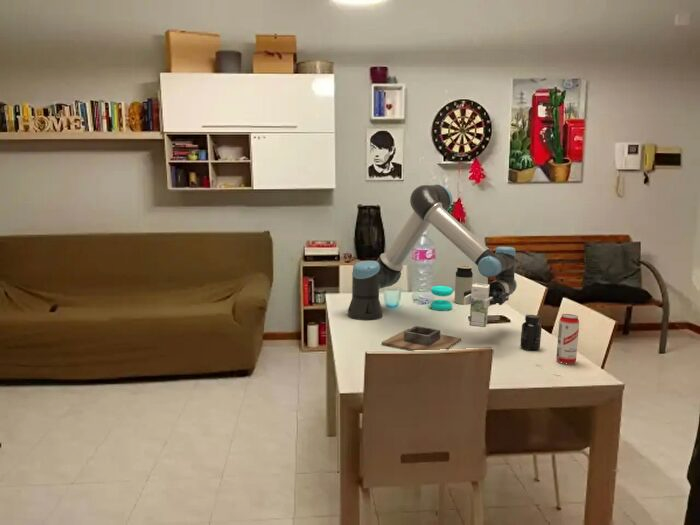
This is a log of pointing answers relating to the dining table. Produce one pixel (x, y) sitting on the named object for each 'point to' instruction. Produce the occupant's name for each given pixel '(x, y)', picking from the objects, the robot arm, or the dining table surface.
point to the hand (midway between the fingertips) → (475, 302)
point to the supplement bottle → (531, 333)
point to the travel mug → (462, 282)
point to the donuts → (441, 304)
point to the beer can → (567, 338)
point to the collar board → (421, 339)
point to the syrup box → (479, 305)
